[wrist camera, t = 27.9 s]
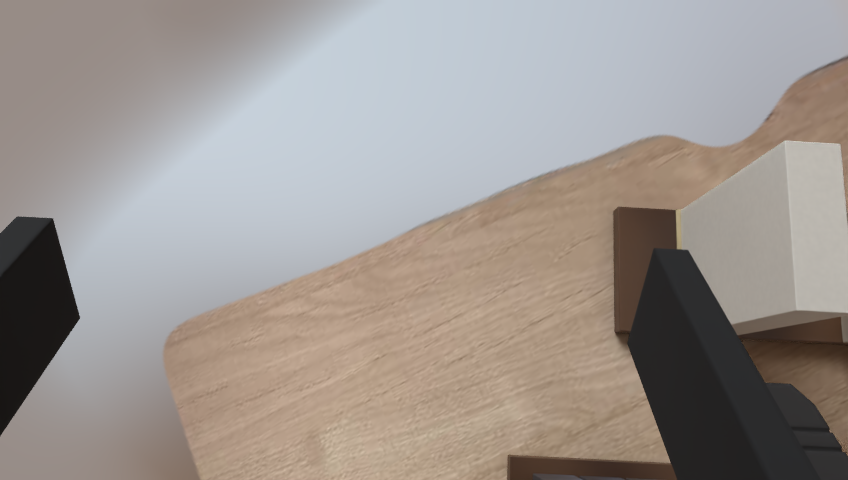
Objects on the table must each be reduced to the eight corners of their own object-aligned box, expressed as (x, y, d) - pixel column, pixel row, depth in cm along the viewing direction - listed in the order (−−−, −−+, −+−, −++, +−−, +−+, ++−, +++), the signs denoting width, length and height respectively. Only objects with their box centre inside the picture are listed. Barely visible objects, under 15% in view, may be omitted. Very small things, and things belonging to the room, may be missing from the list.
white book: (684, 335, 48) (796, 310, 34) (680, 210, 50) (784, 140, 36) (727, 337, 48) (856, 314, 34) (721, 212, 50) (841, 143, 36)
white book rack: (614, 332, 49) (705, 305, 34) (613, 210, 51) (699, 134, 36) (918, 349, 50) (1139, 329, 35) (905, 227, 52) (1108, 159, 37)
